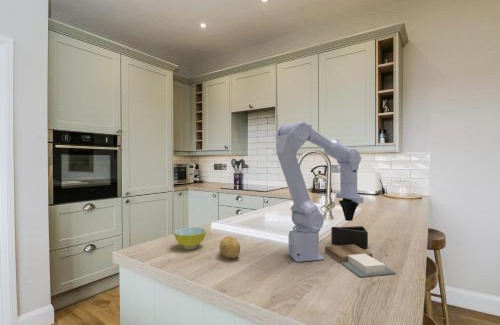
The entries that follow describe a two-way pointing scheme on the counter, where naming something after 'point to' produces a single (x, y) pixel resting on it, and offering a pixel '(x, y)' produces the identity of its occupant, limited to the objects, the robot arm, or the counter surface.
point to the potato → (230, 247)
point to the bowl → (190, 236)
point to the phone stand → (350, 236)
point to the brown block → (344, 252)
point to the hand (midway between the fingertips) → (348, 220)
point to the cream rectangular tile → (366, 263)
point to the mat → (362, 274)
